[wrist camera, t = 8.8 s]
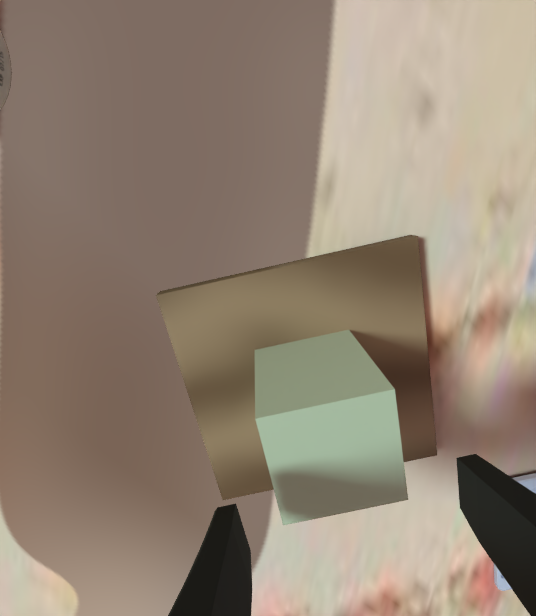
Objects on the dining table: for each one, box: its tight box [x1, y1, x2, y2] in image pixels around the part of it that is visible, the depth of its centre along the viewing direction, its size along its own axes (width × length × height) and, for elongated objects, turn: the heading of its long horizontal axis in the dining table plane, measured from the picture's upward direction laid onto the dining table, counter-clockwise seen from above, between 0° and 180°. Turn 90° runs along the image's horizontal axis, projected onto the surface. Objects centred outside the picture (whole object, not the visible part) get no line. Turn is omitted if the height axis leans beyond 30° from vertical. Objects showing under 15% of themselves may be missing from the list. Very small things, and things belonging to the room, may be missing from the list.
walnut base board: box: [156, 235, 437, 500], centre depth 19 cm, size 13×13×1 cm
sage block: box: [255, 330, 408, 525], centre depth 16 cm, size 5×5×6 cm
